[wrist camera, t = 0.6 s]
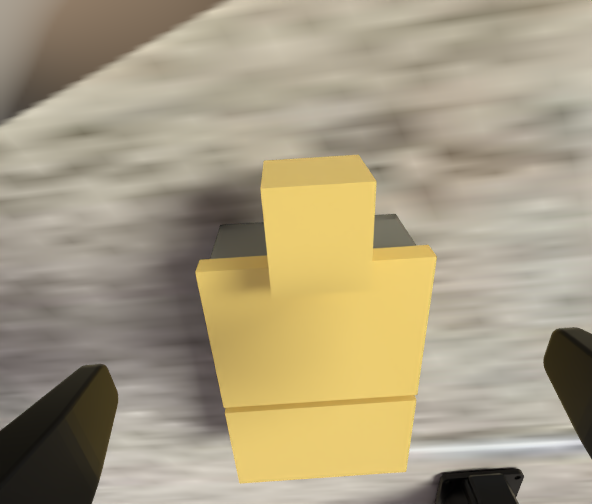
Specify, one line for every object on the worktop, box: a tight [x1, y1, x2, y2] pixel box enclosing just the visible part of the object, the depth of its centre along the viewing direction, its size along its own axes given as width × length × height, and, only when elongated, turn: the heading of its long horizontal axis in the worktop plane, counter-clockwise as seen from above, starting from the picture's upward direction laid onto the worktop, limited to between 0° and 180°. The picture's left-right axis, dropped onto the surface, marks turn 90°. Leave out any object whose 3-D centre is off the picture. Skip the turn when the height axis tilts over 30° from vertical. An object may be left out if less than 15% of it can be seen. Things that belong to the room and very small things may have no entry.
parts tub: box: [210, 214, 416, 483], centre depth 21 cm, size 14×10×5 cm
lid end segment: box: [195, 155, 437, 408], centre depth 16 cm, size 12×10×3 cm
